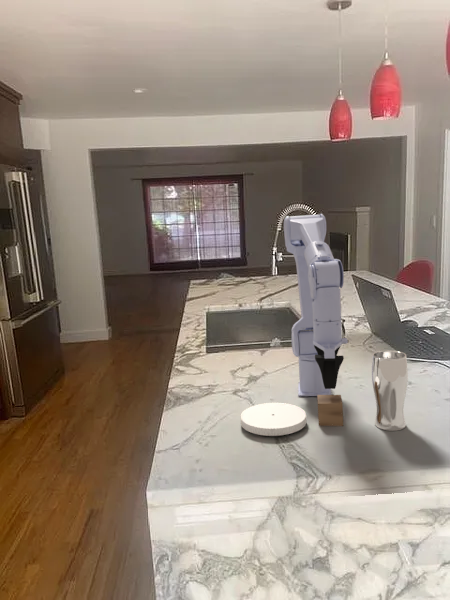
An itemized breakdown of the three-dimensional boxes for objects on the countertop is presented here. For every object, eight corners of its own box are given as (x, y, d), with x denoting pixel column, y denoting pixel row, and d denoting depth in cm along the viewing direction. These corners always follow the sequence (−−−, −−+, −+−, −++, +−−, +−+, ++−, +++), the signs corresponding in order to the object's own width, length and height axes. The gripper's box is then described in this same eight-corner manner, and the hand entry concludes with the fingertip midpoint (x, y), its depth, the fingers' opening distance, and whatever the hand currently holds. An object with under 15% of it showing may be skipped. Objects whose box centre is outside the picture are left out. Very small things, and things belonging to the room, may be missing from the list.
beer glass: (400, 416, 106) (399, 348, 104) (413, 430, 99) (413, 358, 97) (368, 419, 106) (366, 351, 104) (379, 433, 99) (377, 360, 97)
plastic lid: (227, 427, 108) (227, 416, 107) (273, 408, 116) (272, 397, 116) (274, 447, 97) (273, 435, 97) (320, 424, 106) (319, 413, 105)
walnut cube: (318, 416, 109) (317, 394, 109) (341, 416, 109) (340, 394, 108) (318, 426, 105) (317, 403, 104) (343, 426, 104) (342, 403, 103)
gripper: (350, 326, 95) (351, 394, 97) (344, 311, 109) (345, 370, 112) (312, 327, 96) (315, 394, 99) (311, 312, 110) (313, 371, 113)
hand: (329, 381), depth 105 cm, fingers open, 7 cm apart
